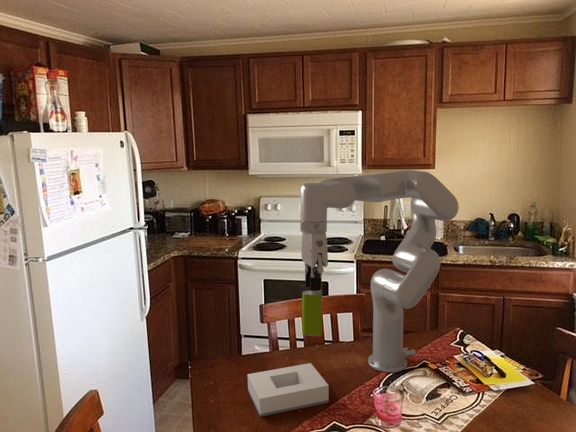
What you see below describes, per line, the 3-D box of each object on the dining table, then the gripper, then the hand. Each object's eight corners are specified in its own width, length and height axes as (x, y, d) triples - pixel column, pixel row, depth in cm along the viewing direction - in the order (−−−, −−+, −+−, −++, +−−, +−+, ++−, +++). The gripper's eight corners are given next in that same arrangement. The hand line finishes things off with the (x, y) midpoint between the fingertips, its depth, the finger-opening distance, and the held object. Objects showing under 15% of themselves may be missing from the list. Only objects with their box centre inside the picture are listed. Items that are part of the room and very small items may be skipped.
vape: (321, 336, 141) (322, 270, 137) (301, 335, 142) (301, 269, 138) (322, 331, 144) (323, 267, 141) (303, 330, 145) (303, 266, 142)
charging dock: (311, 378, 149) (310, 363, 148) (328, 402, 136) (328, 385, 135) (248, 390, 143) (247, 374, 142) (260, 416, 130) (259, 398, 129)
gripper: (337, 231, 131) (336, 295, 134) (315, 220, 146) (315, 279, 149) (311, 232, 128) (310, 298, 131) (292, 222, 144) (292, 281, 147)
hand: (312, 287), depth 140 cm, fingers closed on vape, 3 cm apart
